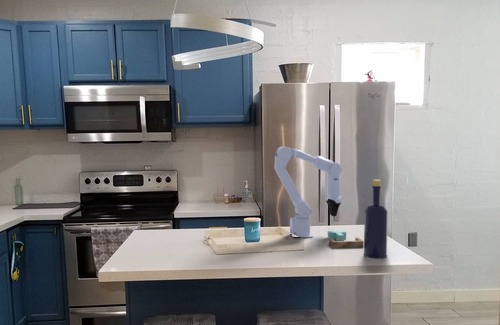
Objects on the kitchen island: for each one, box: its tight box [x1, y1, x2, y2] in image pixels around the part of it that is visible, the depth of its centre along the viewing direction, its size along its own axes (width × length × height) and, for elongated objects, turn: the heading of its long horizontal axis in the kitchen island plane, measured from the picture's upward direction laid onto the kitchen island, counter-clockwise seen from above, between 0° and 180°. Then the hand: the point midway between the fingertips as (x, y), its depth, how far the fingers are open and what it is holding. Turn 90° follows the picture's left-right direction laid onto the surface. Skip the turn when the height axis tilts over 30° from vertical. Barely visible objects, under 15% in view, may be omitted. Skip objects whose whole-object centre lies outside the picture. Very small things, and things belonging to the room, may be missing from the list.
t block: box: [327, 230, 347, 241], centre depth 170 cm, size 8×8×3 cm
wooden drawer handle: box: [328, 237, 364, 249], centre depth 160 cm, size 13×6×2 cm, turn 95°
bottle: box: [363, 179, 389, 259], centre depth 146 cm, size 9×9×30 cm
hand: (333, 215), depth 178 cm, fingers closed
